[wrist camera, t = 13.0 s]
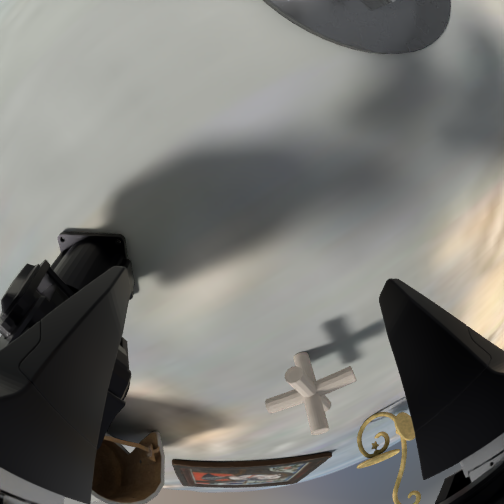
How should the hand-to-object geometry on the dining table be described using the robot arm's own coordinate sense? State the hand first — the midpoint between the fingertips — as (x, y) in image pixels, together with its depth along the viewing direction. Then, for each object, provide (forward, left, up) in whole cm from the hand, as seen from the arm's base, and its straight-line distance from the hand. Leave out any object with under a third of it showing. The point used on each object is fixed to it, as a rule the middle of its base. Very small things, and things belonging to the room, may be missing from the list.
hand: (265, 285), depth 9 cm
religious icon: (+10, -89, -13) cm, 91 cm away
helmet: (-23, -48, -12) cm, 55 cm away
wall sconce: (+32, -45, -12) cm, 57 cm away
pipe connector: (+9, -20, -12) cm, 25 cm away
